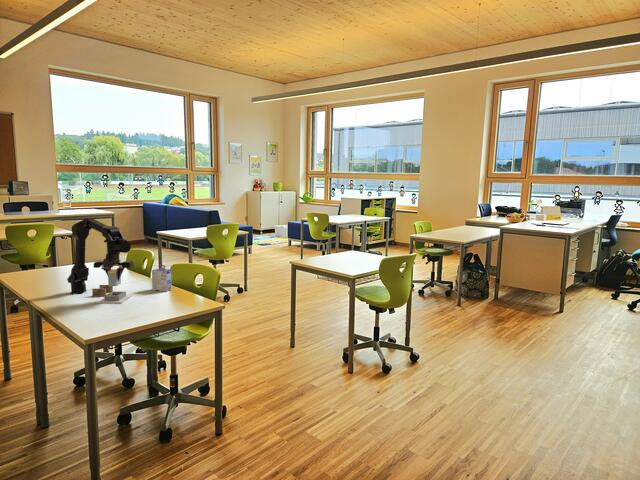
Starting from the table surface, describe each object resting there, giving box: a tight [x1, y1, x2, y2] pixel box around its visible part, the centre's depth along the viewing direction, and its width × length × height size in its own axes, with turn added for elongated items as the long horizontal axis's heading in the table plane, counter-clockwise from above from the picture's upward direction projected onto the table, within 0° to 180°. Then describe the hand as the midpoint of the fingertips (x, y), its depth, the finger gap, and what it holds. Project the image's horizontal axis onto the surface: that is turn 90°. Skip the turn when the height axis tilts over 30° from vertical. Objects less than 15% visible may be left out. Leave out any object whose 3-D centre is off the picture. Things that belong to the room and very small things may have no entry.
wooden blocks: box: [91, 284, 114, 297], centre depth 247 cm, size 7×10×4 cm
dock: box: [97, 291, 133, 305], centre depth 235 cm, size 12×14×3 cm
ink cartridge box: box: [151, 264, 173, 292], centre depth 256 cm, size 10×6×14 cm, turn 78°
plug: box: [107, 268, 122, 287], centre depth 234 cm, size 4×6×8 cm, turn 2°
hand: (114, 280), depth 234 cm, fingers closed on plug, 4 cm apart
